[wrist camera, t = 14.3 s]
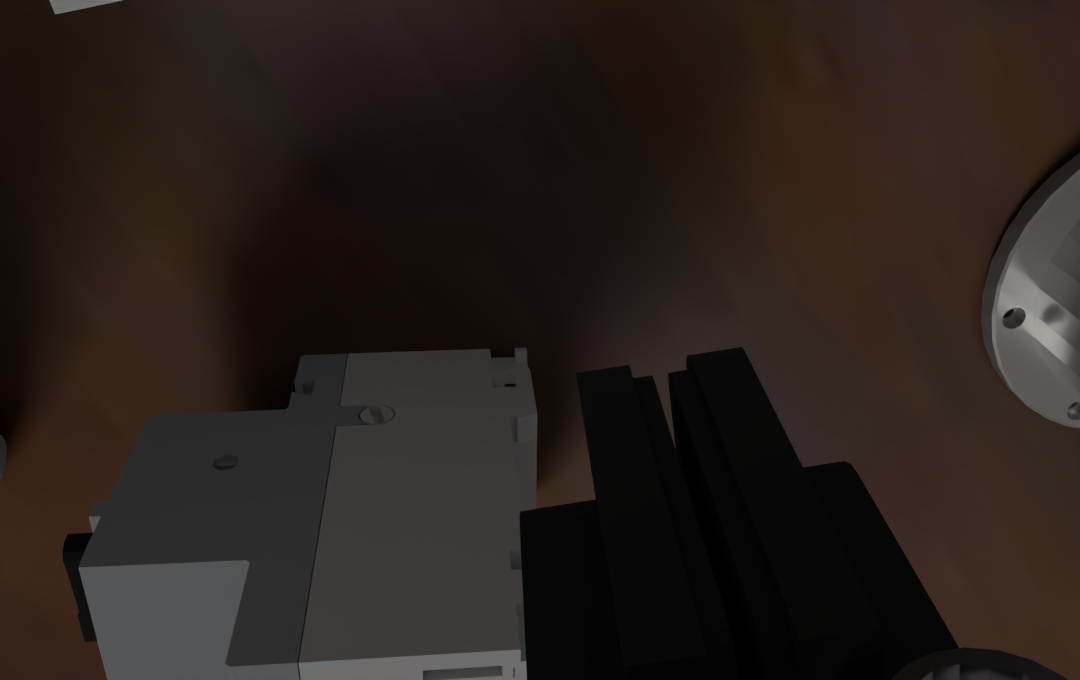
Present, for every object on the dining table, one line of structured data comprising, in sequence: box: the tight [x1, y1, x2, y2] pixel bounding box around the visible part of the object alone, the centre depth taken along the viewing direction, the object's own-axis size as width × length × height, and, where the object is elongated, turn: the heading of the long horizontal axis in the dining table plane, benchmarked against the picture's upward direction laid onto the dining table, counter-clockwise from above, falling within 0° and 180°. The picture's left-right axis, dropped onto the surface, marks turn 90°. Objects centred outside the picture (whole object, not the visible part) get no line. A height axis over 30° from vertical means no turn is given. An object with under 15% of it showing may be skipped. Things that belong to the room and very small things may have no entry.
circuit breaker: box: [63, 348, 537, 680], centre depth 31 cm, size 8×14×15 cm, turn 89°
